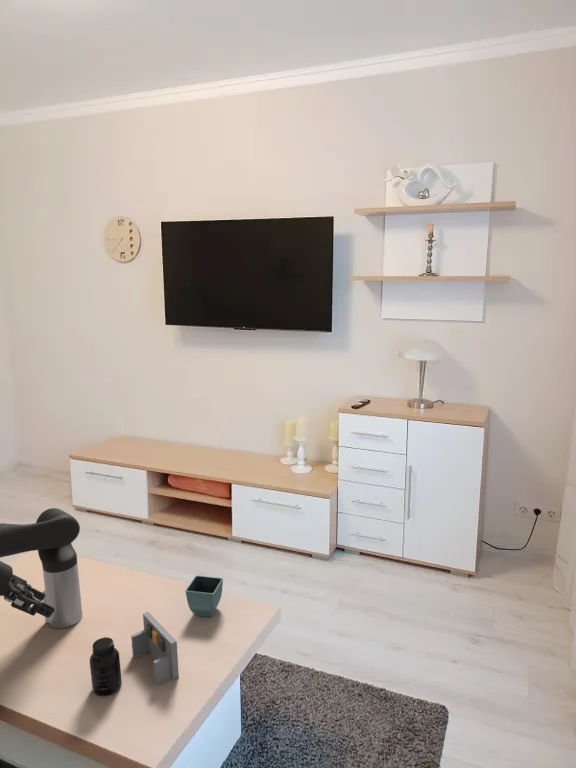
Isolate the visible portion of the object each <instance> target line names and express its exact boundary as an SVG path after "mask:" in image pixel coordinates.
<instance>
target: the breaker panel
mask: <svg viewBox="0 0 576 768" xmlns="http://www.w3.org/2000/svg"><path fill="white" fill-rule="evenodd" d="M142 617H143V618H142V621H143V629H142V630H141V631H138V632H136V633H133V634H131V636H130V637H131V638H130V639H131V648H132V650H131V651H132V657H133V658H134V659H135V658H138V657H140V656H142V655H144V654H146V653H148V652H149V654H150V655H151V656H152V657H153V658H154V659H155V660H153V661H152V663H153V679H154V684H155V685H156V686H158V685H160V684H162V683H164V682H166V681H168V680H170V679H172V680H173V681H174V680H177V679H179V677H180V675H179V659H178V658H179V657H178V642H177V640H176V639H175V638H174V637H173V636H172V634H171V633H170V632H169V631H167V630H166V628H164V626H163V625H161V623H160V622H159V621H158V620H157V619H156V618H155V617H154V616H153V615H152V614H151V613H150V612H149V611H146V612H144V613H142Z"/></svg>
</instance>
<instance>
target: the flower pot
mask: <svg viewBox="0 0 576 768" xmlns="http://www.w3.org/2000/svg"><path fill="white" fill-rule="evenodd" d="M223 583H224V578H223V577H214V576H206V575H195V576H194V577H193V579H192V580H191V582H190V583H189V585H188V586H187V587H186V589H185V596H186V602H187V606H188V608H189V610H190V611H191V613H192V614H194V616H196V617H197V616H198V617H199V616H200V617H205V618H206V617H207V618H208V617H209V618H211V617H212V616H213V615H214V613H215V611H216V610H217V607H218V605H219V604H220V602H221V597H222V594H223V586H224V585H223Z"/></svg>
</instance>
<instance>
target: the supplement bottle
mask: <svg viewBox="0 0 576 768" xmlns="http://www.w3.org/2000/svg"><path fill="white" fill-rule="evenodd" d="M114 644H115V643H114V640H113V639H112V638H111V637H107V636H104V637H100V638H99V639H96V640H95V641H94V642H93V644H92V654H91V655H90V658H89V669H90V678H91V689H92V691H93V694H95V695H96V696H98V697H108V696H109V697H110V696H112V695H113V694H116V692H118V691H119V689H121V687H122V684H123V683H122V682H123V681H122V680H123V679H122V670H121V659H120V652H119V650H118V649H117V648H116V647H115V645H114Z"/></svg>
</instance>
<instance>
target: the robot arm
mask: <svg viewBox="0 0 576 768" xmlns="http://www.w3.org/2000/svg"><path fill="white" fill-rule="evenodd" d="M80 530H81V527H80V523H79V521H78V520H77V519H76V518H75V517H74V516H73V515H71V514H69V513H68V512H66V511H64V510H62V509H61V508H56V507H55V508H54V507H51V508H48V509H45V510H44V511H42V512H41V514H40V515H39V516H38V517H37V519H36V522H34V523H29V524H24V523H23V524H19V523H18V524H17V523H0V558H5V557H9V556H14V555H17V554H21V553H26V552H34V551H37V554H38V557H39V559H40V561H41V565H42V567H41V568H42V572H43V573H42V575H43V583H44V590H43V591H40V590H38V589H36V588H34V587H33V586H32V585H31V584H29V583H28V581H27V580H26V579H23V578H21V577H20V576H18V575H16V574H14V573H13V572H14V571H13V567H12V566H11V565H9V564H7V563H5V562H3V561H1V560H0V597H3V599H4V600H5V601H6V602H8V603H11V604H10V607H12V609H13V608H14V609H17V610H18V611H21V612H23V613H25V614H28V615H31V616H33V617H34V616H35V615H36V614H39V615H41V616H42V617H44V619H45V623H46V624H48V625H49V626H50V627H51V628H53V629H66V628H70V627H73V626H74V625H76V624H78V623H79V622H80V621H81V619H82V618H83V609H82V597H81V586H80V577H79V575H80V573H79V565H78V556H77V554H78V553H77V552H76V550H75V548H74V547H73V545H72V543H73V542H74V541H75V540H76V539H77V538H78V536H79V534H80Z"/></svg>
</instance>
